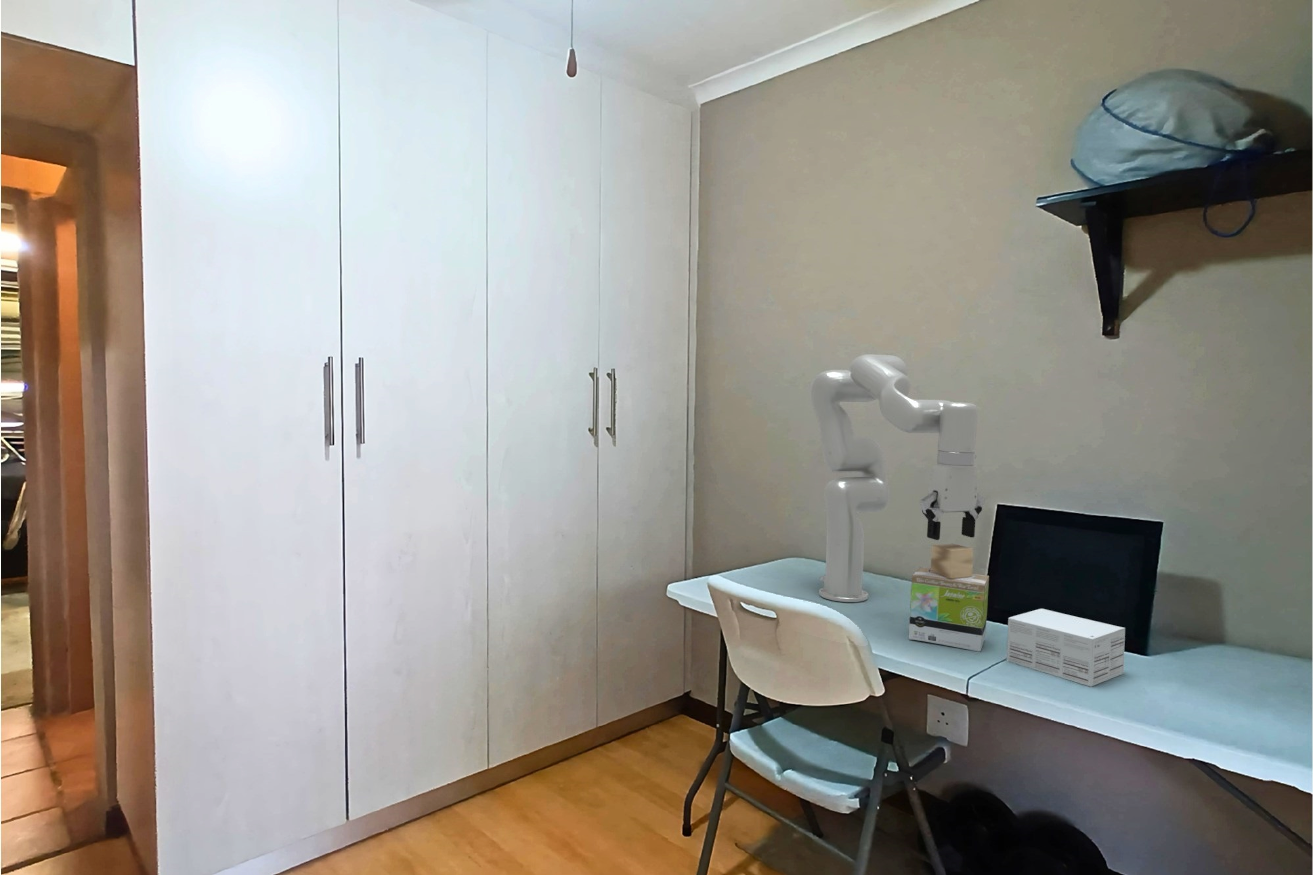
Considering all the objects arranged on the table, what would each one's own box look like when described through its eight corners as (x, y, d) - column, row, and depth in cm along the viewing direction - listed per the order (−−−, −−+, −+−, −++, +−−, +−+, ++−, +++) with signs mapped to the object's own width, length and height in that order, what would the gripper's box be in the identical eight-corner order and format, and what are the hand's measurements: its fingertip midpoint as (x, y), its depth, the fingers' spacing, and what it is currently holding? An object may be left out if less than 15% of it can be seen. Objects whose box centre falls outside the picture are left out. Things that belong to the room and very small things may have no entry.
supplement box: (1124, 674, 150) (1127, 627, 149) (1091, 688, 142) (1094, 638, 142) (1039, 649, 164) (1041, 606, 163) (1005, 661, 156) (1007, 616, 156)
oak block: (930, 572, 169) (931, 545, 169) (951, 570, 171) (952, 543, 171) (951, 578, 163) (952, 550, 163) (972, 576, 166) (973, 548, 165)
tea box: (907, 641, 168) (910, 574, 167) (915, 628, 176) (918, 565, 176) (982, 653, 161) (985, 583, 160) (986, 639, 169) (989, 573, 169)
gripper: (973, 456, 173) (968, 531, 174) (911, 458, 166) (907, 536, 168) (999, 460, 166) (994, 538, 167) (936, 462, 159) (931, 543, 161)
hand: (950, 537), depth 167 cm, fingers open, 9 cm apart
